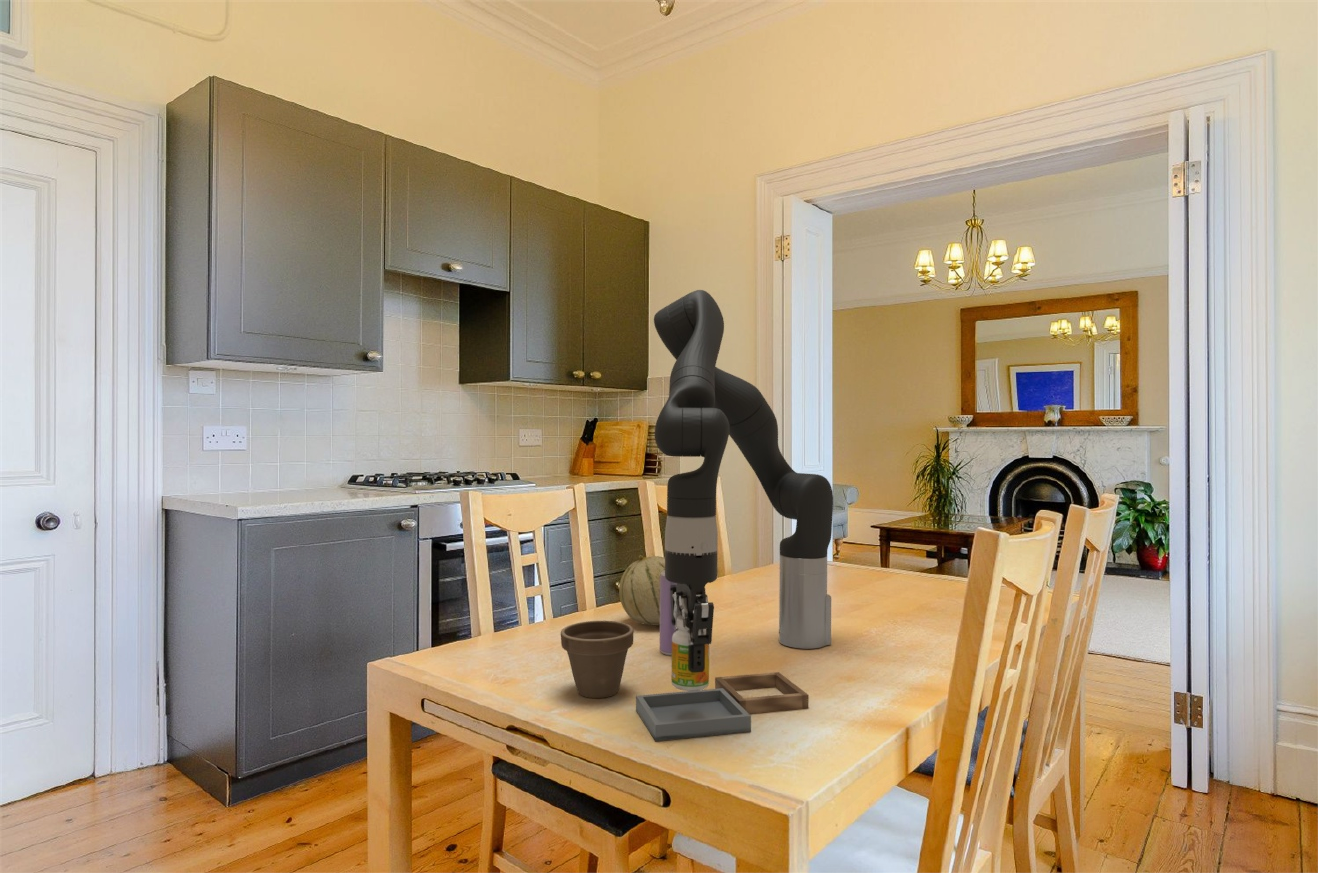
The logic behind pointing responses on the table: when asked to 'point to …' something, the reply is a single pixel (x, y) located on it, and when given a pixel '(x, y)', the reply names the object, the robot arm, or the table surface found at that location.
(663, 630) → the beverage can
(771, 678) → the brown wooden square frame
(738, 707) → the tray
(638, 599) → the cantaloupe
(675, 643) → the supplement bottle
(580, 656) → the flower pot
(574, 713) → the table surface
